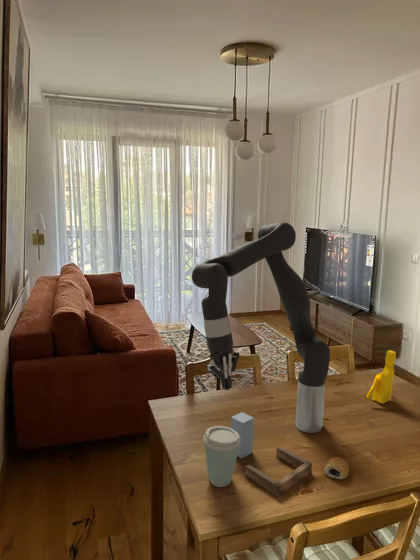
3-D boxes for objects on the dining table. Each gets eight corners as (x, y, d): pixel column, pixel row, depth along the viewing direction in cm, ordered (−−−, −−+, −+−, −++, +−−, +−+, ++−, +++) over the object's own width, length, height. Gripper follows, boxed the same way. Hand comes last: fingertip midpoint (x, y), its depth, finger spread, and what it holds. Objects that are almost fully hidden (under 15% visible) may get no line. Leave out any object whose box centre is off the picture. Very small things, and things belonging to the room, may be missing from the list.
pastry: (331, 459, 133) (332, 448, 133) (353, 467, 130) (354, 455, 129) (322, 475, 126) (323, 463, 125) (345, 483, 122) (346, 471, 121)
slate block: (240, 445, 140) (242, 412, 138) (252, 452, 136) (253, 417, 134) (230, 451, 136) (231, 416, 134) (241, 458, 133) (243, 423, 131)
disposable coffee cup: (228, 465, 129) (230, 420, 126) (246, 487, 119) (248, 438, 117) (196, 474, 124) (197, 427, 122) (212, 497, 115) (213, 446, 112)
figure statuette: (382, 391, 183) (387, 342, 179) (400, 398, 177) (406, 347, 174) (361, 403, 172) (365, 351, 168) (379, 410, 166) (384, 357, 162)
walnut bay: (279, 454, 135) (279, 446, 135) (311, 472, 126) (312, 463, 126) (245, 475, 124) (245, 466, 124) (277, 496, 116) (278, 486, 115)
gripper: (223, 324, 129) (232, 378, 132) (193, 338, 120) (202, 395, 122) (242, 326, 124) (251, 382, 126) (212, 340, 115) (222, 400, 117)
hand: (227, 388), depth 124 cm, fingers closed
